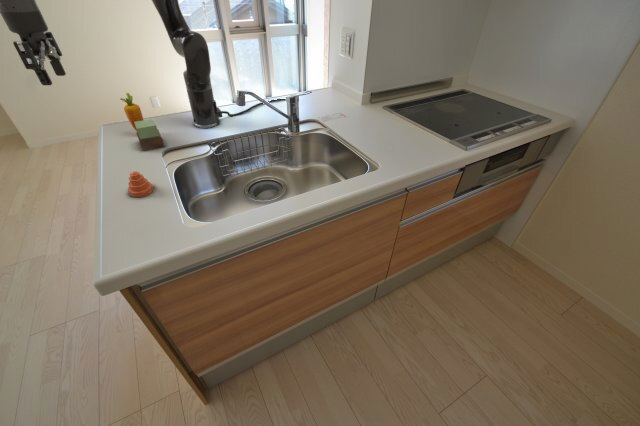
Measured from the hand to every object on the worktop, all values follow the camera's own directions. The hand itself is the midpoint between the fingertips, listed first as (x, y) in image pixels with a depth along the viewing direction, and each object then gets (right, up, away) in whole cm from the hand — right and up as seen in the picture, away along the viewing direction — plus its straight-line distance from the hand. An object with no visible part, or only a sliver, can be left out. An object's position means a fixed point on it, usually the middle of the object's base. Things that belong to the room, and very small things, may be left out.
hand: (55, 80), depth 80 cm
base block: (+12, -12, +25) cm, 30 cm away
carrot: (+5, -7, +31) cm, 32 cm away
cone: (+21, -30, +5) cm, 37 cm away
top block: (+12, -9, +23) cm, 27 cm away
